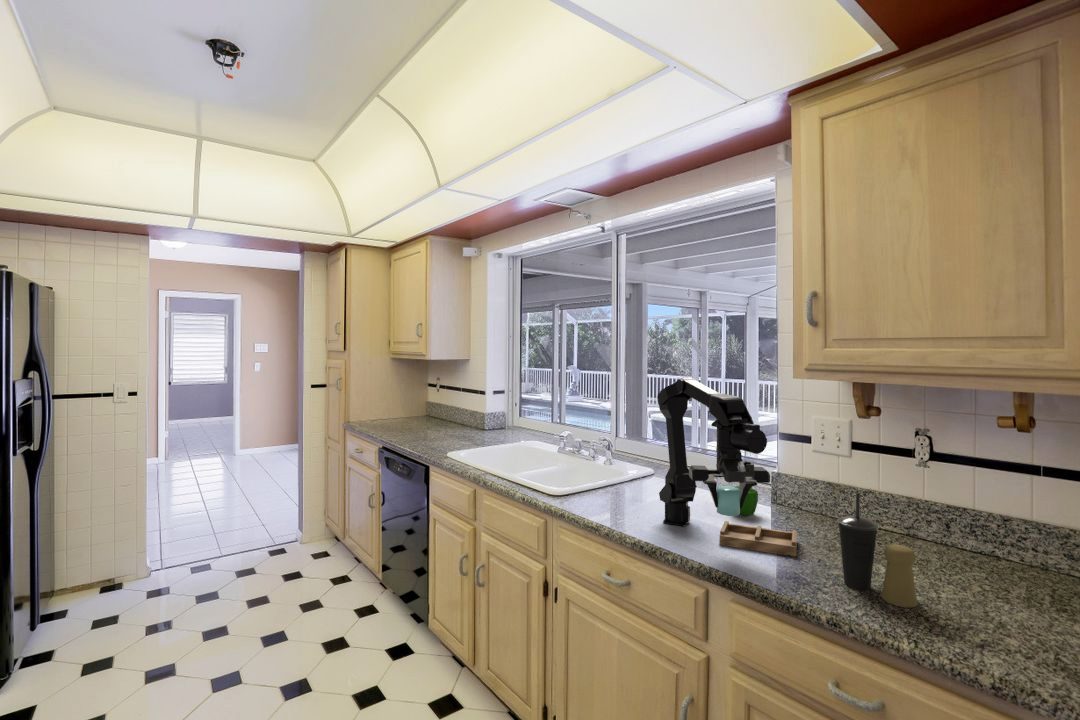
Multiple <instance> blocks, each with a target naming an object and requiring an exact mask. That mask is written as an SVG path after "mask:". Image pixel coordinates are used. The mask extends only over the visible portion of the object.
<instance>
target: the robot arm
mask: <svg viewBox="0 0 1080 720" xmlns="http://www.w3.org/2000/svg"><path fill="white" fill-rule="evenodd" d="M656 396H657V397H656V398H657V402H658V408H659V411H660V412H661V414H662V416H663V417H664V419H665V423H666V424H665V425H666V426H665V427H666V435H667V448H668V449H667V450H668V459H669V460H668V461H669V469H668V470H667V472H666V474H665V478H664V483H665V484H664V486H662V488H661V490H660V491H659V493H658V496H659V501H662V502H663V503H664V519H663V520H662V523H664V524H670V525H676V526H682V527H684V526H685V527H686V526H687V525H688V523H689V522H690V521H691V506H689V502H692V503H693V501H694V498H695V495H696V491H697V487H698V486H697V482H702V483H703V484H704V485H707V487H708V489H709V492H710V495H711V499H712V501H713V504H714V507H715V508H716V509H717V508H718V498H717V487H718V486H717V484H718V483H717V481H716V480H715V479H716V478H724V482H726V483H739V489H740V508H742V506H743V504H744V501H745V499H746V496H747V494H748V492H749V490H750V489H751V488H753V487H754V486H758V484H759V483H763V484H766V483H768V484H769V483H771V473H770V472H769V471H768V470H767V469H765V468H764V467H763V466H755V463H754V462H753V461H743V456H742V452H741V451H744V452H746V453H751V454H755V455H758V454H761V453H763V452H764V451H765V450H766V447H767V445H768V438H767V435H766V433H765V432H764V431H762V429H761V425H760V424H758V423H757V424H755V423H754V420H753V417H752V416H751V414H750V412H749V410H748V408H747V406H746V404H745V401H744V399H743V398H742V397H740V396H737V395H733V394H727V393H720V392H719V391H716V390H714V389H712V388H710V387H709V386H706V385H705V384H703V383H701V382H699V381H698V380H697V379H695V378H693V377H686V378H684V377H682V378H679V379H677V380H676V381H675V382H673V383H671V384H669V385H667V386H665V387H664V388H662V389H661V390H660V391H659V392H658V394H657V395H656ZM692 399H694V400H695V401H697V402H698V403H700V404H702V405H704V406H705V407H707V408H708V412H709V414H711V415H712V416H713V417H714V418H715V420H714V421H713V422H712V423H711V427H715V428H716V448H715V452H716V463H715V465H716V466H715V467H716V469H709V468H707V467H706V465H690V466H688V461H687V451H686V448H687V447H686V439H685V428H684V427H685V426H684V417H685V414H686V413H687V410H688V406H689V405H688V403H689V401H690V400H692ZM688 467H689V468H688Z"/></svg>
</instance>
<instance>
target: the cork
mask: <svg viewBox="0 0 1080 720" xmlns="http://www.w3.org/2000/svg"><path fill="white" fill-rule="evenodd" d="M883 554H884V558H885V560H886V561H887V562H886V566H885V567H886V568H885V573H884V579H883V585H882V591H881V598H882V600H884V601H885V602H886V603H888V604H890V605H894V606H897V607H901V608H911V609H912V608H916V607H917V606H918V599H917V592H916V586H915V585H916V584H915V579H914V572H913V565H914V564H915V561H916V554H915V552H914V550H913V549H912V548H910V547H908V546H906V545H901V544H894V543H893V544H888V545H886V546H885V547H884V551H883Z"/></svg>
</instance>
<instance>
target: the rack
mask: <svg viewBox="0 0 1080 720" xmlns="http://www.w3.org/2000/svg"><path fill="white" fill-rule="evenodd" d="M797 531H798V530H792V531H787V530H780V529H773V528H764V527H762V525H757V526H751V525H744V524H737V523H730V522H729V521H727V520H724V522H723V524H722V527H721V528H720V530H719V545H721V546H727V547H731V548H732V547H734V548H740V549H744V550H745V549H746V550H751V551H758V552H764V553H769V554H778V555H782V554H784V555H783V556H788V555H791V557H795V556H796V557H797V546H798V545H797V543H798V541H797V540H798V539H797V536H798V535H797V534H798V532H797Z"/></svg>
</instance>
